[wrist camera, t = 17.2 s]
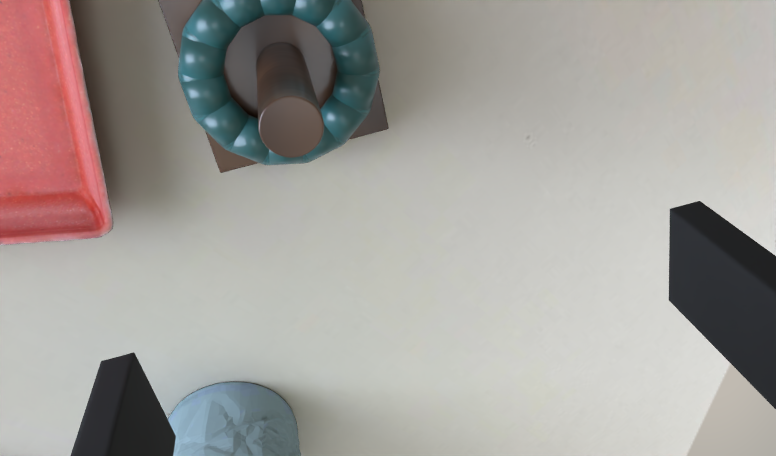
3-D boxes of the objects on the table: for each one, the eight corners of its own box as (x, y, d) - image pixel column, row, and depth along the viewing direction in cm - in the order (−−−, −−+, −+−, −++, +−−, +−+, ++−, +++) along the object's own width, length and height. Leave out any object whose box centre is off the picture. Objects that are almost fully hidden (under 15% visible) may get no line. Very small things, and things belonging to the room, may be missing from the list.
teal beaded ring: (350, -59, 30) (356, -55, 28) (390, 131, 35) (398, 145, 33) (150, -10, 30) (144, -4, 28) (218, 176, 34) (216, 192, 32)
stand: (345, -56, 32) (385, -29, 22) (383, 120, 36) (429, 202, 27) (159, -11, 31) (122, 36, 22) (221, 162, 35) (211, 261, 26)
